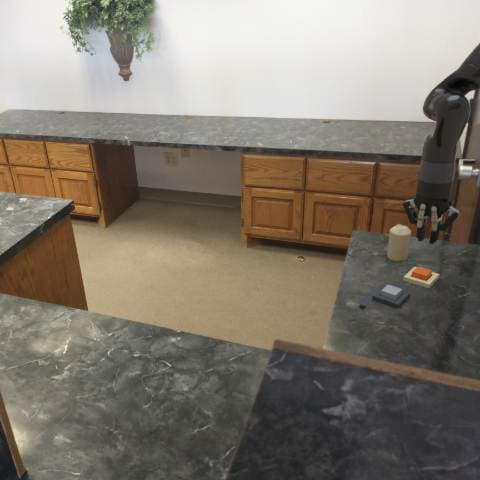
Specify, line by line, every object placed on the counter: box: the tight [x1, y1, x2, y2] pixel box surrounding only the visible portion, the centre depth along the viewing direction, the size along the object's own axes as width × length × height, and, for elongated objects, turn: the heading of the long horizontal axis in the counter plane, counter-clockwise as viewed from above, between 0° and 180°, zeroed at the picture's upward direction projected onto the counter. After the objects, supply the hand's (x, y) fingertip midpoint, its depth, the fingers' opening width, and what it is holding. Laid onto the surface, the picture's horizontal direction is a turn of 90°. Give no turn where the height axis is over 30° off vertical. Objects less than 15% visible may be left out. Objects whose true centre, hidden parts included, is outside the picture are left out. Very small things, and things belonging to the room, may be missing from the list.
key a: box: [412, 266, 433, 281], centre depth 133 cm, size 4×4×2 cm
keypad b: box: [359, 283, 411, 310], centre depth 128 cm, size 12×10×3 cm
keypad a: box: [402, 266, 440, 289], centre depth 134 cm, size 12×10×3 cm
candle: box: [386, 223, 412, 262], centre depth 146 cm, size 6×6×10 cm
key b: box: [381, 284, 403, 301], centre depth 127 cm, size 4×4×2 cm
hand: (426, 241), depth 129 cm, fingers closed
